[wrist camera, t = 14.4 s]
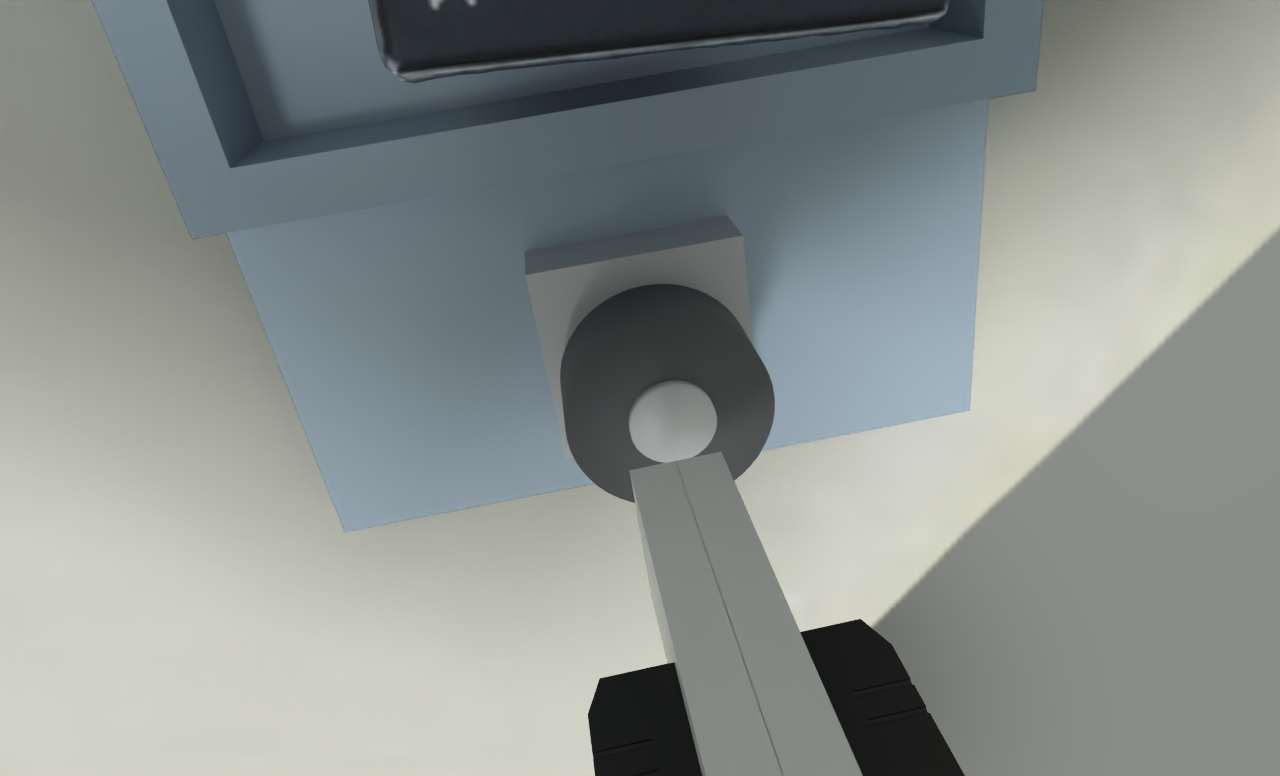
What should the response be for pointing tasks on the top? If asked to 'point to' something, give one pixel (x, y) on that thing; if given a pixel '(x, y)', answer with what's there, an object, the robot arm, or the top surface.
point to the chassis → (573, 222)
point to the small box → (606, 29)
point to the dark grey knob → (662, 386)
